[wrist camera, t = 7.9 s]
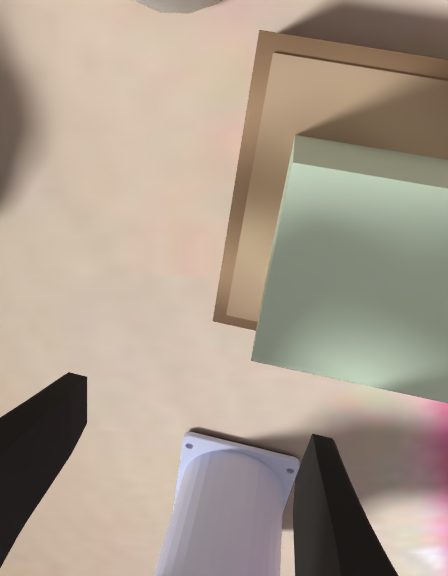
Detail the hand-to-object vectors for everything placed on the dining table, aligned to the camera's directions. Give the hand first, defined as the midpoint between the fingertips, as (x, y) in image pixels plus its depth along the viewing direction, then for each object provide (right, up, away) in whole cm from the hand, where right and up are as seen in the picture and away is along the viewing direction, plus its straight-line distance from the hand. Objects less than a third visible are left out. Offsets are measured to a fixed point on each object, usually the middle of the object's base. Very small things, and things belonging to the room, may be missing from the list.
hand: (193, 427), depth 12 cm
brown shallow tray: (+7, +8, +6) cm, 12 cm away
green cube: (+6, +7, +3) cm, 10 cm away
